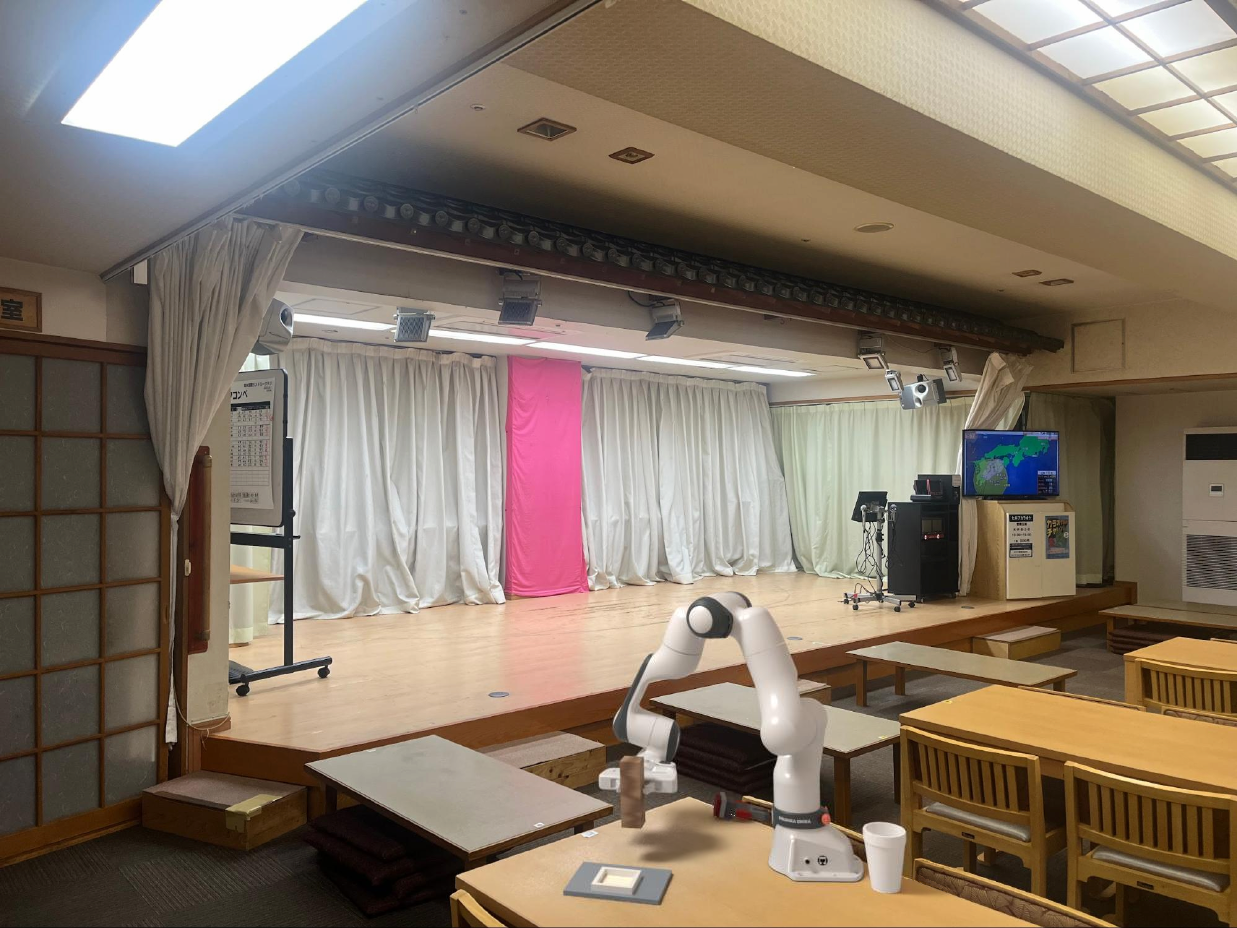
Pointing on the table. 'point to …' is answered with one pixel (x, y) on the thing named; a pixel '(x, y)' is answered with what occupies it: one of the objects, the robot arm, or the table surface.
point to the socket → (616, 880)
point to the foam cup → (885, 855)
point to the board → (644, 892)
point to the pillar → (632, 792)
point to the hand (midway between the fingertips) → (631, 790)
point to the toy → (737, 809)
